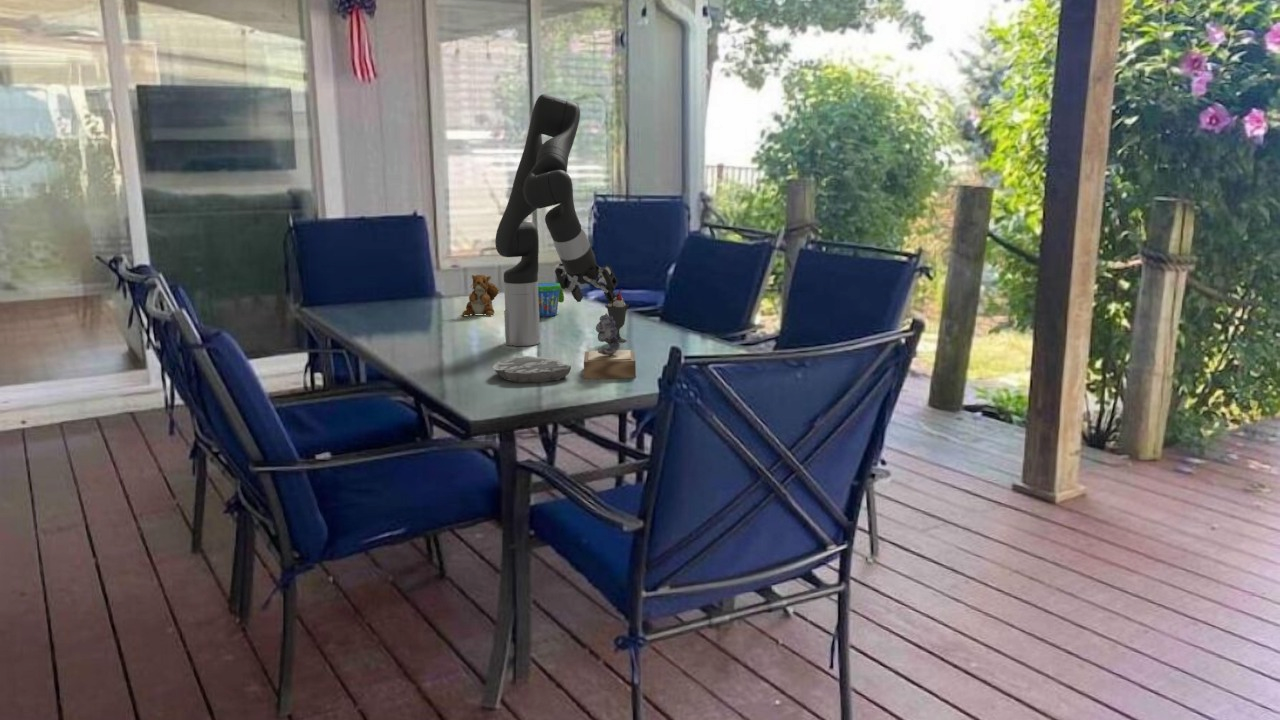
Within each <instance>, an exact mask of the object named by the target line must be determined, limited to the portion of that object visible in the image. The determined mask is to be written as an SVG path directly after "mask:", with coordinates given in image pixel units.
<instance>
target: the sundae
mask: <svg viewBox="0 0 1280 720" xmlns="http://www.w3.org/2000/svg"><path fill="white" fill-rule="evenodd" d="M622 290H623V288H620V289H619V291H618V293H616V294H615V299H614V301H613V302H612V303H608V304H604V307H605V309H607V315H608V316H612V317H613V320H614V321H615V326H614V327H616V329H617V331H618V332H617V335H616V337H617V339H618V341H619V343H620V342H623V343H625V341H626V342H627V339H624V338H622V337H621V334H620V329H622V328H623V326H624V325H625V322H626V314H627V309H628V307H630V304H627V303H625V301H624V298H623V297H622V294H621V293H620V292H621V291H622ZM620 344H621V343H620Z"/></svg>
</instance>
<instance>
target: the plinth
mask: <svg viewBox="0 0 1280 720" xmlns="http://www.w3.org/2000/svg"><path fill="white" fill-rule="evenodd" d="M635 354H636V353H635V350H630V349H627V350H626V349H618V350H617V351H616V353H614V354H613V355H603V354H601V353H598V350H588V351H587V350H586V351H584V356H583V357H584V358H583V377H584V380H585V379H588V380H589V379H591V380H592V379H593V380H594V379H628V378H629V379H630V378H634V379H636V377H637V375H636V372H637V371H636V355H635Z"/></svg>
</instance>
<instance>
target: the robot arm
mask: <svg viewBox="0 0 1280 720" xmlns="http://www.w3.org/2000/svg"><path fill="white" fill-rule="evenodd" d="M580 120H581V109H580V107H579V105H578V104H577V103H576V102H572V101H571V100H568V99H567V100H566V99H563V98H560V97H557V96H554V95H550V94H545V93H543V94H540V95H539V96H538V97H537V99H536V101H535V103H534V106H533V109H532V113H531V117H530V122H529V126H528V131H527V136H526V139H525V140H526V141H525V145H524V148H523V151H522V152H523V153H522V154H521V155H522V156H521V157H520V161H519V163H518V166H517V170H516V173H515V176H514V180H513V184H512V189H511V191H510V196H509V199H508V202H507V204H506V208H505V209H504V212H503V214H502V217H501V219H500V222H499V224H498V226H497V230H496V234H495V239H494V240H495V243H494V244H495V249H496V252H497V253H498V254H499V256H501V257H504V258H519V257H521V259H520V261H519V262H518V263H516V265H514V266H512V267H511V268H509V269H507V270H505V271H504V272H503V290H504V291H503V292H504V311H503V312H504V313H503V315H504V318H503V319H504V333H505V334H504V335H505V339H504V340H505V346H512V345H513V346H515V347H528V346H535V345H538V344H540V343H541V329H540V325H541V324H540V316H539V298H538V283H539V278H538V277H539V248H540V247H539V246H540V244H539V242H540V241H539V233H538V228H537V227H536V225H535V223H533V222H531V221H524V220H526V219H527V218H528V217H529V216H530V215H531V214H533V212H535V211H536V210H537V209H545V208H548V207H551V206H554V207H552V208H551V209H550V210H548V211H547V212H546V213H545V217H544V222H545V225H546V228H547V230H548V232H549V235H550V236H551V238H552V241H553V245H554V248H555V250H556V252H557V255H558V257H559V259H560V262H559V264H558V266H557V267H556V269H554V273H555V276H556V278H557V280H558V283H559V284H560V286H561V288H562V290H566V289H568V290H569V292H570V293H571V295H572V296H573V299H574V300H575V301H576V303H581V301H582V300H583V297H584V294H583V293H582V290H581V288H580V286H579V284H580V285H584V284H585V285H586V284H587V285H593V286H594V287H595V288H596V289H600V290H602V291H603V293H604V296H605V298H606V301H607V303H608V304H609V303H612V302H613V301H614V299H615V295H616V293H615V289H616V287H617V286H618V284H619V281H618V279H617V278H616V275H615V273H614V271H613V269H612V266H611V265H610V264H606V265H605V266H599V265H598V264H597V262H596V255H595V253H594V251H593V249H592V246H591V244H590V241H589V238H588V237H587V234H586V232H585V231H584V228H583V227H582V225H581V223H580V220H579V218H578V215H577V212H576V207H575V203H574V192H573V191H574V189H573V187H574V186H573V182H572V181H573V180H572V178H571V176H570V175H569V174H568V163H569V157H570V154H571V150H572V147H573V145H574V142H575V138H576V135H577V132H578V127H579V124H580ZM542 135H544V136H548V137H551V138H549V139H547V140H545V142H543V138H542ZM569 277H570V278H572V279H571V281H570V278H569ZM597 280H598V281H597ZM578 283H579V284H578Z"/></svg>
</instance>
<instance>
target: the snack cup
mask: <svg viewBox="0 0 1280 720" xmlns="http://www.w3.org/2000/svg"><path fill="white" fill-rule="evenodd" d="M563 290H564V289H562V288H561V286H560V283H559V282H550V281H549V282H538V298H539V318H540V317H541V318H545V317H553V316H557V313H558V308H559V307H558V306H559V303H564V301H565V296H564V291H563Z"/></svg>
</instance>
